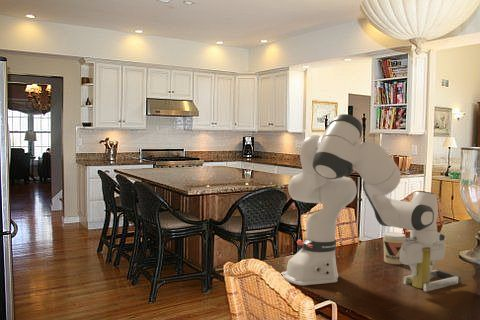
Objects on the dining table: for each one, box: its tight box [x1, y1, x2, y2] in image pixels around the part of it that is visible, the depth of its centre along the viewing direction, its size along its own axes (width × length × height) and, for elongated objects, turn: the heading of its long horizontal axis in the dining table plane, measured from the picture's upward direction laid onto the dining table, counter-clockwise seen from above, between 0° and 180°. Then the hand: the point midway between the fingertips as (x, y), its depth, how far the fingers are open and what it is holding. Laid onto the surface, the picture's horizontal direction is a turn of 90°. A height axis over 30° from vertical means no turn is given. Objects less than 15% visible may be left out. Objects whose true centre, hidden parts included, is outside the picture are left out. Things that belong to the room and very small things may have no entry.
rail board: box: [403, 268, 462, 292], centre depth 158 cm, size 20×10×2 cm, turn 119°
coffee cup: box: [382, 231, 407, 265], centre depth 185 cm, size 9×9×12 cm
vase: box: [411, 248, 431, 290], centre depth 155 cm, size 6×6×14 cm
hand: (421, 273), depth 155 cm, fingers open, 6 cm apart
